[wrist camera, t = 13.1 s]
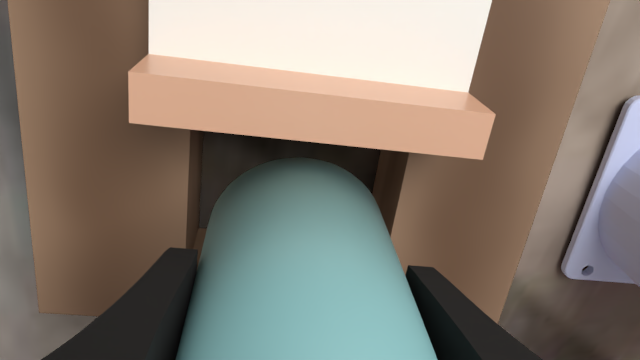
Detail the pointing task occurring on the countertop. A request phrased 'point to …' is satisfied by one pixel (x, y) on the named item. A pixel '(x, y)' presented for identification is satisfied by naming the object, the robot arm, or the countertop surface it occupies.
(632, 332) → the countertop surface
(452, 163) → the socket block
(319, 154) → the countertop surface
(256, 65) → the panel
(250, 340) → the peg
